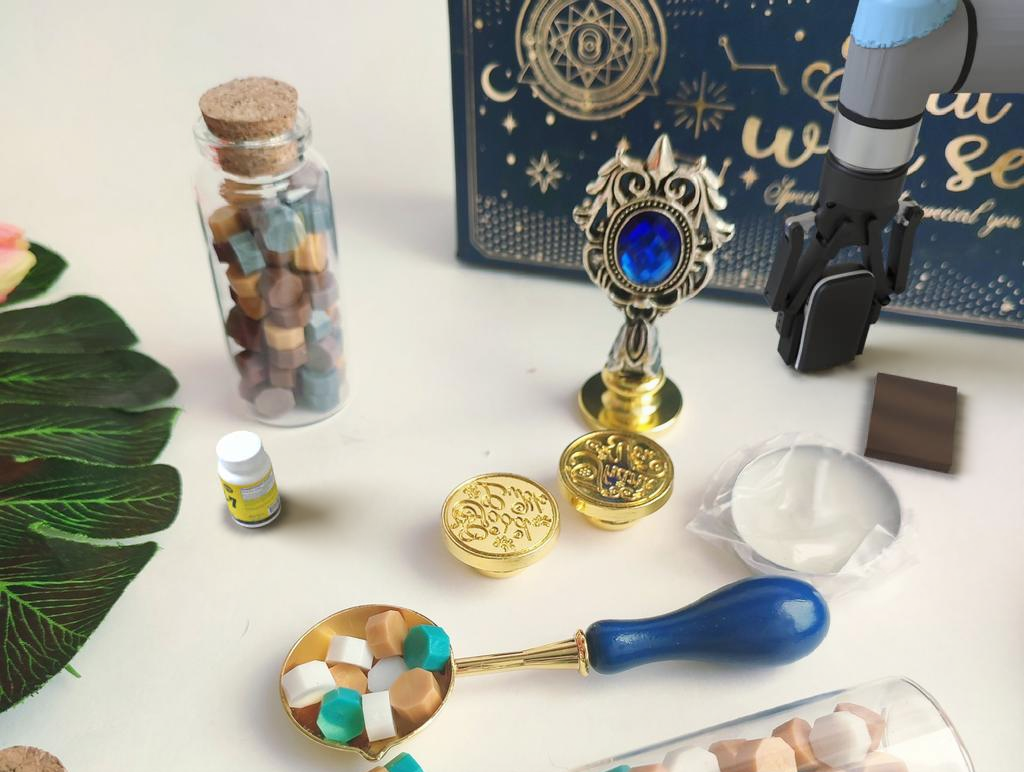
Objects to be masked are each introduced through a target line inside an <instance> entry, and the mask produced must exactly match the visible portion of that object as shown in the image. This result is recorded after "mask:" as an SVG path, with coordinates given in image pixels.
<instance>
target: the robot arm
mask: <svg viewBox="0 0 1024 772" xmlns="http://www.w3.org/2000/svg"><path fill="white" fill-rule="evenodd" d="M846 53H847V54H846V59H845V64H844V69H843V75H842V78H841V79H842V81H841V85H840V90H839V93H838V98H837V103H836V106H835V110H834V116H833V120H832V124H831V129H830V134H829V138H828V143H827V144H828V149H826V152H825V155H824V158H823V164H822V169H821V173H820V179H819V185H818V196H817V199H816V200H815V202H814V203H813V205H812V206H811V208H810V211H807V212H804V213H802V214H798V215H795V214H794V213H793V212H791V211H789V212H786V213H784V214H783V215H782V217H781V230H782V232H781V233H782V234H781V238H780V241H779V244H778V246H777V250H776V253H775V256H774V259H773V263H772V265H771V269H770V272H769V274H768V277H767V281H766V284H765V287H764V290H763V293H762V297H763V298H764V299H765V301H766V303H767V305H768V306H769V308H770V309H771V311H772V312H774V313H777V314H776V315H777V316H776V320H775V325H774V327H775V330H776V332H777V333H778V335H779V339H778V343H777V349H776V350H777V352H778V355H779V356H780V357H781V360H782V361H783V362H784V365H785V366H786V367H787V366H794V359H795V355H796V351H797V346H798V342H799V337H800V333H801V329H802V324H803V320H804V316H805V314H804V313H803V311H802V310H801V308H800V307H801V306H802V304H803V302H804V301H805V299H806V297H807V296H808V294H809V293H810V291H811V289H812V288H813V286H814V285H815V283H816V281H817V280H818V278H819V276H820V275H821V273H822V272H823V270H824V268H825V267H826V266H828V265H829V262H830V261H832V260H833V261H834V260H835V258H836V257H837V256H838V254H839V252H840V251H841V249H845V248H848V247H851V246H854V247H859V248H860V253H861V261H862V265H863V266H864V267H865V268H866V270H868V271H870V272H871V273H872V274H873V276H874V278H875V281H876V286H875V291H874V296H873V299H872V303H871V307H870V310H869V314H868V317H867V320H866V323H865V326H864V329H863V332H862V335H861V338H860V341H859V344H858V348H857V352H856V356H861V355H863V353H864V349H865V345H866V342H867V338H868V335H869V331H870V328H871V326H872V325H876V323H877V322H878V320H879V318H880V314H881V312H882V308H883V307H886V306H888V305H889V304H890V303H891V302H892V298H891V297H890V295H893V294H895V295H902V294H903V293H905V292H906V289H907V284H908V278H909V271H910V266H911V261H912V255H913V248H914V242H915V238H916V237H915V236H916V232H917V229H918V227H919V225H920V224H921V221H922V220H923V218H924V216H925V211H924V209H923V208H922V207H921V206H920V205H919V204H918V202H917V201H916V200H915V199H914V198H913V196H905V197H904V198H903V199H902V200H900V199H901V197H902V194H903V190H904V186H905V184H906V179H907V176H908V172H909V169H910V160H911V159H912V157H913V156H914V153H915V149H916V145H917V141H918V137H919V133H920V130H921V126H922V122H923V118H924V115H925V113H926V109H927V105H928V102H929V99H930V96H931V95H942V94H943V95H953V94H1023V95H1024V0H859V1H858V5H857V9H856V12H855V16H854V19H853V23H852V24H851V27H850V38H849V43H848V48H847V52H846ZM891 221H892V223H891V230H890V237H889V244H888V250H887V257H886V263H885V264H884V259H883V251H882V250H883V249H884V245H883V237H882V231H883V229H884V228H886V226H887V225H889V223H890V222H891ZM814 226H815V229H814V231H813V233H812V234H811V236H810V238H809V232H810V230H811V228H813V227H814ZM808 239H809V245H808V247H807V248H806V250H805V252H804V253H803V249H804V244H805V241H806V240H808ZM802 253H803V255H802ZM801 256H802V257H801Z"/></svg>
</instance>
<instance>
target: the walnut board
mask: <svg viewBox="0 0 1024 772" xmlns="http://www.w3.org/2000/svg"><path fill="white" fill-rule="evenodd" d="M873 384H874V385H873V390H872V391H873V392H872V396H871V397H872V398H871V404H870V412H869V417H868V424H867V429H866V431H867V432H866V436H865V444H864V451H863V457H867V458H872V459H877V460H882V461H887V462H891V463H896V464H901V465H906V466H910V467H914V468H920V469H925V470H928V471H934V472H939V473H944V474H949V473H950V470H951V468H952V465H953V456H954V455H953V453H954V440H955V439H954V438H955V425H956V423H955V422H956V413H957V412H956V411H957V398H958V386H953V385H948V384H944V383H938V382H933V381H928V380H922V379H917V378H911V377H906V376H901V375H895V374H890V373H885V372H881V371H880V372H879V371H877V373H876V376H875V379H874V383H873Z"/></svg>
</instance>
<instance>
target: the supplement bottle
mask: <svg viewBox="0 0 1024 772" xmlns="http://www.w3.org/2000/svg"><path fill="white" fill-rule="evenodd" d="M216 455H217V460H218V463H217V472H218V476H219V479H220V483H221V486H222V490H223V493H224V496H225V500H226V503H227V507H228V510H229V513H230V516H231V519H233V521H234V522H235V523H237V524H238V525H240V526H242V527H244V528H245V527H246V528H259V527H263V526H266V525H268V524H270V523H272V522H273V521H274V520H275V519H276V518H277V517H278V516H279V515H280V512H281V510H282V502H281V497H280V493H279V489H278V484H277V480H276V476H275V472H274V467H273V464H272V463H273V462H272V461H271V457H270V455H269V454H268V453H267V451H266V450H265V448H264V444H263V441H262V439H261V437H260V436H259V435H258V434H257V433H254V432H251V431H249V430H238V431H233V432H230V433H228V434H226V435H224V436H223V437H221V439H220V440H219V441H218V443H217V445H216Z"/></svg>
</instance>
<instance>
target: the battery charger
mask: <svg viewBox="0 0 1024 772" xmlns="http://www.w3.org/2000/svg"><path fill="white" fill-rule="evenodd" d="M875 286H876V281H875V278H874V276H873V274H872V273H871V272H870V271H868V270H866V268H865V267H864V266H863V263H861V262H859V261H857V260H856V261H855V260H850V261H844V262H838V263H833V264H827V265H826V267H825V268H824V270H823V272H822V273H821V275H820V276H819V278H818V280H817V281H816V283H815V285H814V286H813V288H812V289H811V291H810V293H809V294H808V296H807V297H806V299H805V301H804V302H803V304H802V306H801V307H800V308H801V310H802V311H803V313H804V314H805V316H804V320H803V324H802V329H801V333H800V337H799V342H798V346H797V351H796V355H795V359H794V364H793V366H794V368H795V369H796V371H798V372H799V373H803V374H804V373H809V372H815V371H819V370H823V369H829V368H832V367H837V366H840V365H845V364H848V363H852V362H854V361H855V359H856V357H857V355H856V352H857V348H858V344H859V341H860V338H861V335H862V332H863V329H864V326H865V323H866V320H867V317H868V314H869V310H870V307H871V303H872V299H873V296H874V291H875Z"/></svg>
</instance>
